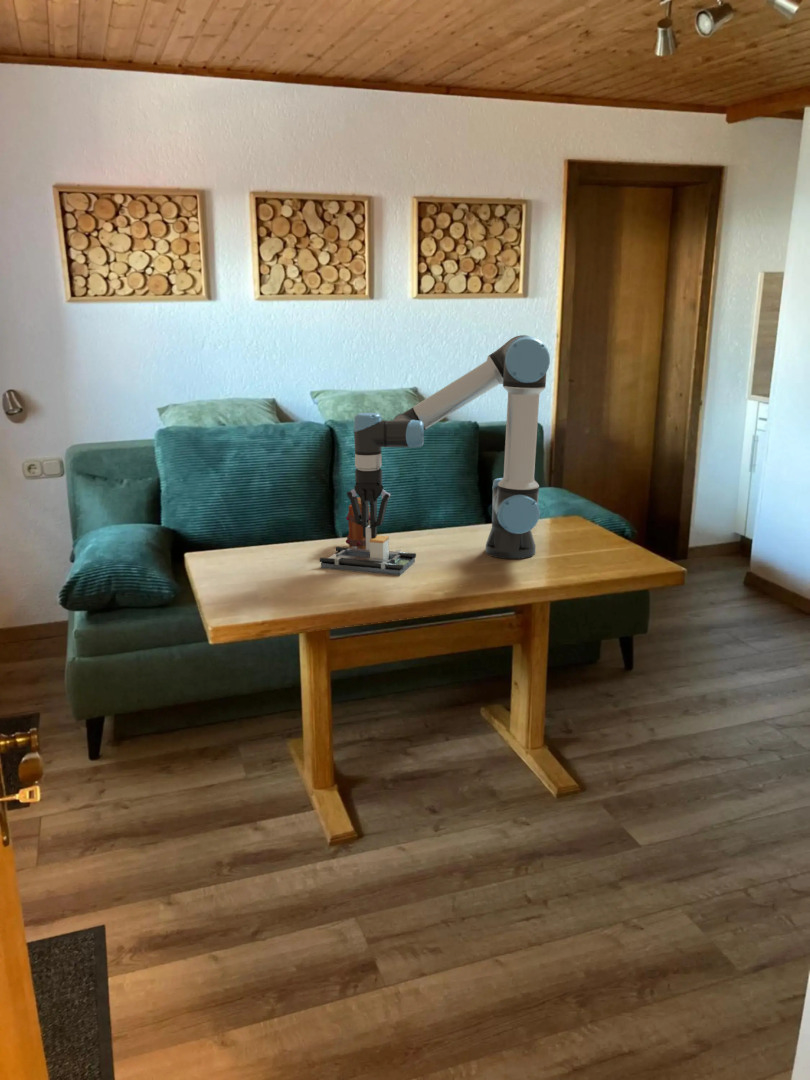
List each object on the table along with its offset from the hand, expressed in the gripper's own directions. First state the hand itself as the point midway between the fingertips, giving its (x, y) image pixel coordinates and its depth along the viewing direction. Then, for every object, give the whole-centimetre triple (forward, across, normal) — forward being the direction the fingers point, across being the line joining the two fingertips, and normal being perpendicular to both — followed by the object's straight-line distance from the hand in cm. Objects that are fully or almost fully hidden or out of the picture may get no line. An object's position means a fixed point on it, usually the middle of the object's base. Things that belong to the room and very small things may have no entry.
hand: (370, 548), depth 248 cm
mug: (+5, +10, -17) cm, 20 cm away
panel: (+5, +1, 0) cm, 5 cm away
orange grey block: (+4, -3, 0) cm, 5 cm away
